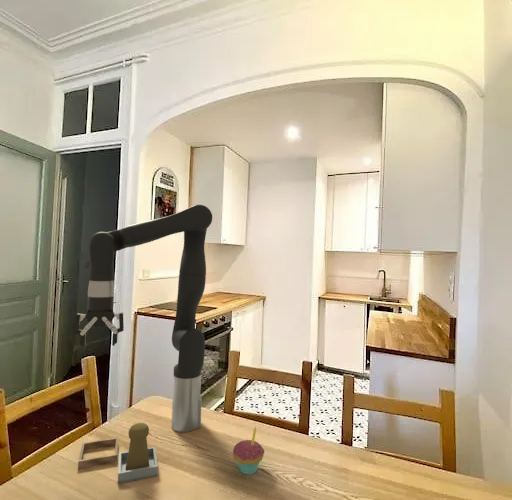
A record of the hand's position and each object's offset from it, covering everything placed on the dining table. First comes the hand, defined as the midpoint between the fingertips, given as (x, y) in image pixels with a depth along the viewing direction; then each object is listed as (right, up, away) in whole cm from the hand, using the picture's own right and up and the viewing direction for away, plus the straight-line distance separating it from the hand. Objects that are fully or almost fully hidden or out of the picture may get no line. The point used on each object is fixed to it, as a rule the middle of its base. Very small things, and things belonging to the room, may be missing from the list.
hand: (98, 346), depth 107 cm
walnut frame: (+5, -28, -11) cm, 31 cm away
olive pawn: (+18, -28, -16) cm, 37 cm away
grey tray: (+18, -28, -16) cm, 37 cm away
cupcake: (+48, -29, -15) cm, 58 cm away
